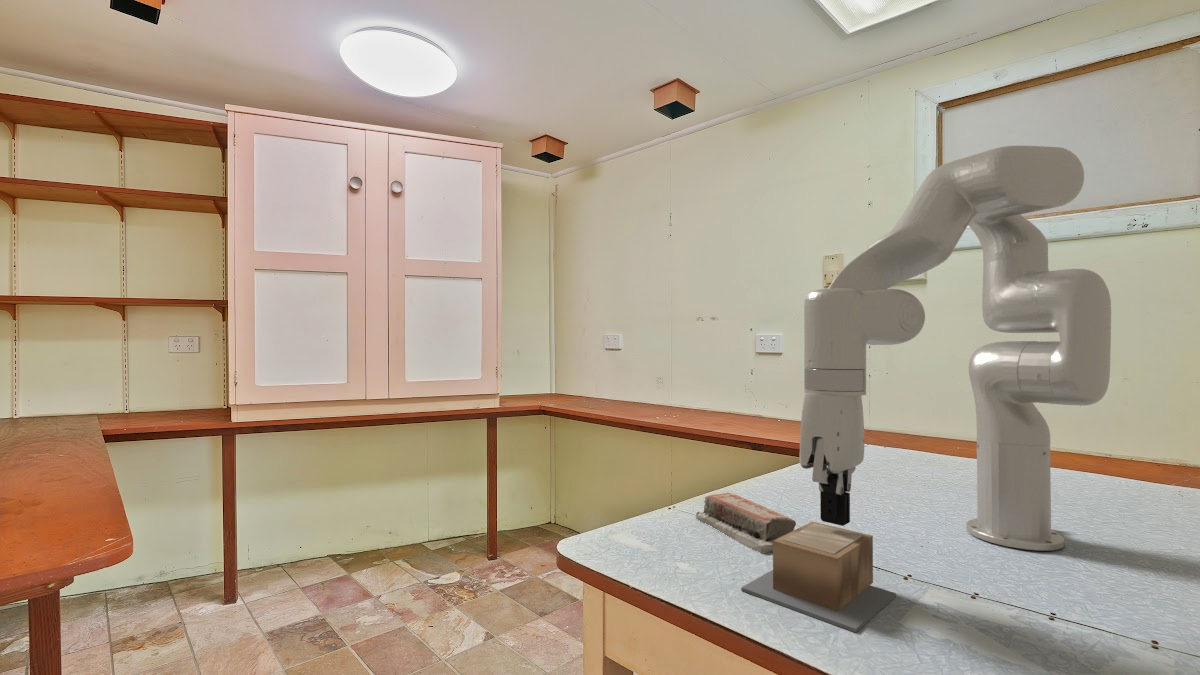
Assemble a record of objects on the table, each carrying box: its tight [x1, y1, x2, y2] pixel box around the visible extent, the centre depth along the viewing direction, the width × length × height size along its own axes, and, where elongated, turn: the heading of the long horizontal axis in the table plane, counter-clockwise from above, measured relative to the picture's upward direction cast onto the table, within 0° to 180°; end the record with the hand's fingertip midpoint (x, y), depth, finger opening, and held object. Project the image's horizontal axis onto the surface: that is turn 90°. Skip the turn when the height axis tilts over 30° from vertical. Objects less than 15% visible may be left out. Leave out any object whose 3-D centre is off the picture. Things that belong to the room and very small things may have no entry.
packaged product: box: [695, 492, 797, 554], centre depth 91 cm, size 18×5×10 cm
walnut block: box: [772, 521, 874, 611], centre depth 69 cm, size 6×8×11 cm
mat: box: [740, 569, 897, 633], centre depth 68 cm, size 12×14×1 cm
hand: (835, 521), depth 72 cm, fingers closed
